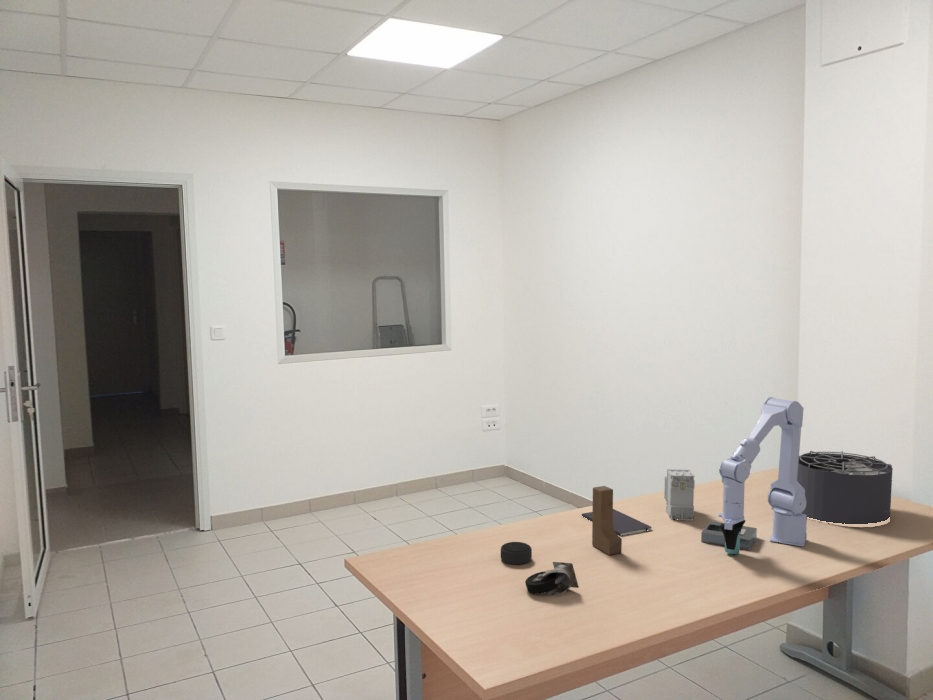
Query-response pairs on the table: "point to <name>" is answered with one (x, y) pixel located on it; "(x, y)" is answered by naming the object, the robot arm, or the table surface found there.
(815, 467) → the ventilation fan
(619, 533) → the notebook
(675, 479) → the circuit breaker
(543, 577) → the caster wheel
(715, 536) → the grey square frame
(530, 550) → the smart speaker
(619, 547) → the wooden block
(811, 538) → the table surface
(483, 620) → the table surface
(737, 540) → the barrel peg
